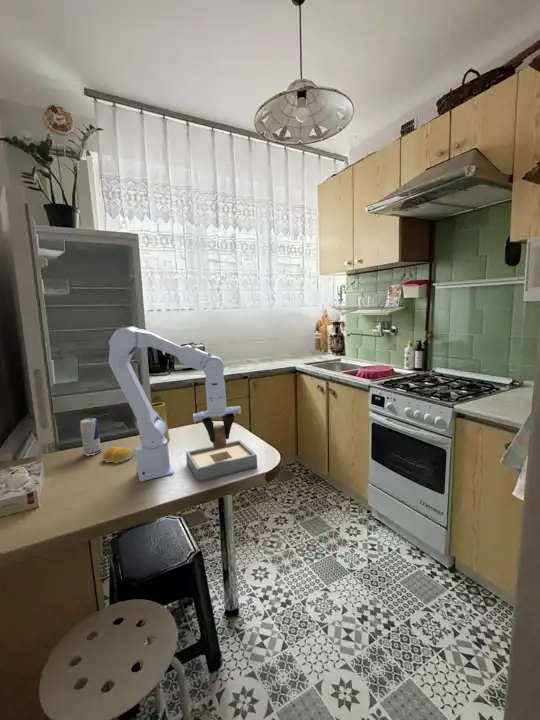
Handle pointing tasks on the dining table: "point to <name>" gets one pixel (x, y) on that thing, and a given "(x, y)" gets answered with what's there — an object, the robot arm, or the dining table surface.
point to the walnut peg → (219, 436)
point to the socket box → (220, 460)
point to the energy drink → (90, 435)
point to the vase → (161, 415)
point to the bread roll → (117, 454)
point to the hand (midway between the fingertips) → (219, 439)
